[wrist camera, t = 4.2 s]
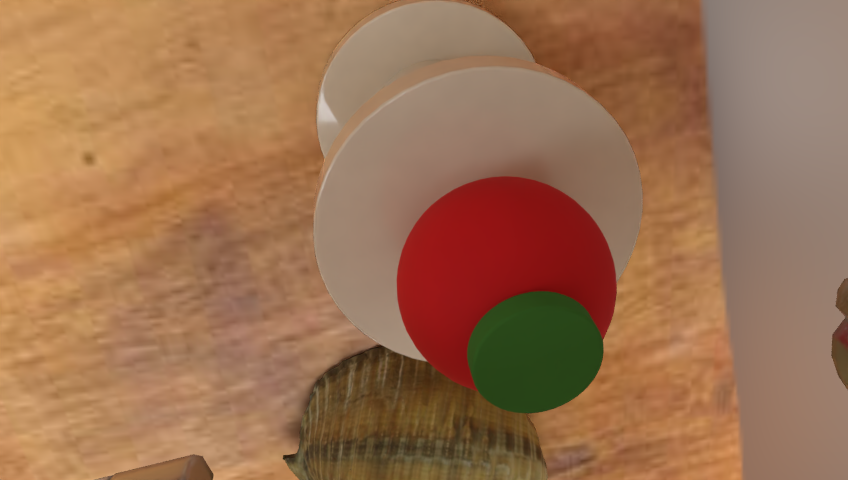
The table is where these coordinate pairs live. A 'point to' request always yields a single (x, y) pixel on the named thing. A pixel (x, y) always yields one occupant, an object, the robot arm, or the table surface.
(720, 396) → the table surface
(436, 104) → the stand
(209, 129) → the table surface
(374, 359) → the seashell
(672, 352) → the table surface
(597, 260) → the strawberry
